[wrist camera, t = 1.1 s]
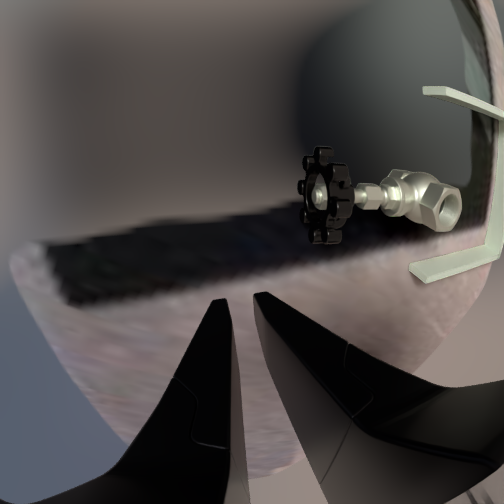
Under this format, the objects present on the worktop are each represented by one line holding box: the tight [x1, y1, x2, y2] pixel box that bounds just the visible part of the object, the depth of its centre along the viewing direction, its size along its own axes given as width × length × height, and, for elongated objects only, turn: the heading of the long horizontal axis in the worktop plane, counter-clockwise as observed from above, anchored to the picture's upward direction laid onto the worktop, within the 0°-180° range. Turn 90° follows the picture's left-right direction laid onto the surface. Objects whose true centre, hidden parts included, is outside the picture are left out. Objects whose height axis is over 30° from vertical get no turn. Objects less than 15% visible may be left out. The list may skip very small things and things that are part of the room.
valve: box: [297, 146, 462, 244], centre depth 19 cm, size 7×7×12 cm
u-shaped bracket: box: [409, 86, 504, 284], centre depth 23 cm, size 19×16×3 cm
